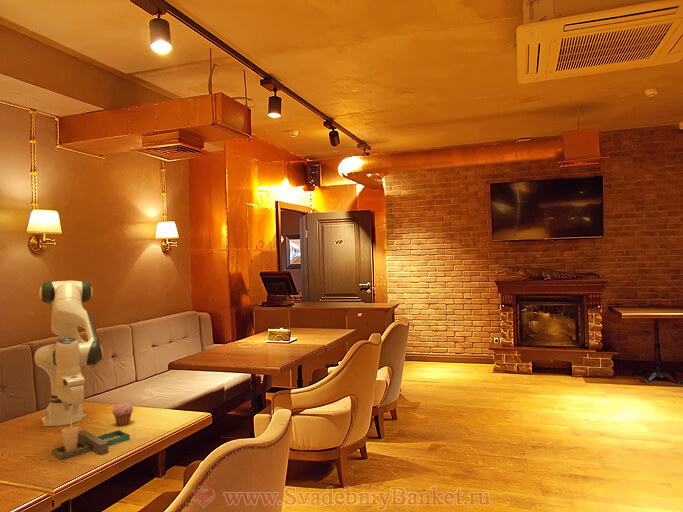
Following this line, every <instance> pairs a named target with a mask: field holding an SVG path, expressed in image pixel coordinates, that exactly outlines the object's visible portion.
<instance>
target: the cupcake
mask: <svg viewBox="0 0 683 512" xmlns="http://www.w3.org/2000/svg"><path fill="white" fill-rule="evenodd" d="M133 410H134V409H133V406H132V404H131V403H130V402H121V403H117V404H116V405H114V407H113V409H112V410H111V411H112V415H113V416H114V419H115V423H116V425H119V426H126V425H127V424H129V423H130V421H131V416H132V413H133Z"/></svg>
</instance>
